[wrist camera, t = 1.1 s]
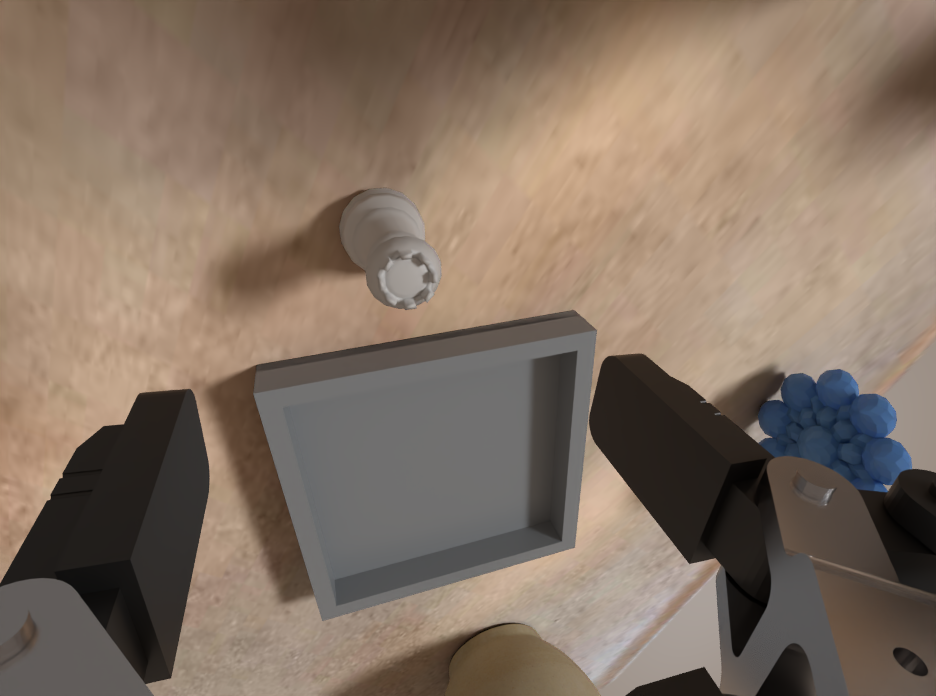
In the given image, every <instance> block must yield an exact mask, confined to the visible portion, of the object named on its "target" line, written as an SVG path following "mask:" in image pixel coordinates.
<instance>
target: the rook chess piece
mask: <svg viewBox="0 0 936 696" xmlns="http://www.w3.org/2000/svg"><path fill="white" fill-rule="evenodd" d="M339 230H340V237H341V243H342V245H343V246H344V248H345V250H346V252H347V253H348V255H349V257H350V258H351V260H352V261H353V262H354V263H355V264H357V265H358V266H359V267H361V268H362V269H364V270H365V273H366V280H367V286H368V288H369V289H370V291H371V293H372V294H373V296H374V297H375V298H376V299H377V300H379V301H380V302H382V303H383V304H384V305H386V306H390V307H394V308H398V309H403V308H405V310H409V309H416V306H417V305H419V304H421V303H423V302H424V301H426V302H428V301H429V300H430V299H431V298H432V296H433V295H434V292H435V291H436V289H437V287H438V284H439V281H440V279H441V261H440V259H439V257H438V255H437V253H436V251H435V249H434V248H432V247H431V246H430V245H429V244H428V243H426V242H425V228H424V222H423V220H422V217H421V215H420V213H419V211H418V209H417V207H416V205H415V204H414V203H413V202H412V201H411V200H410V199H409V198H407V197H406V196H405V195H404V194H403V193H401V192H398V191H395V190H392V189H389V188H377V189H368V190H367V191H365V192H363V193H361V194H359V195H357V196H355V197H354V198H353V199H352V200H351V201H350V203H349V204H348V205H347V207H346V208H345V209H344V210H343V214H342V217H341V221H340V225H339Z"/></svg>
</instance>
